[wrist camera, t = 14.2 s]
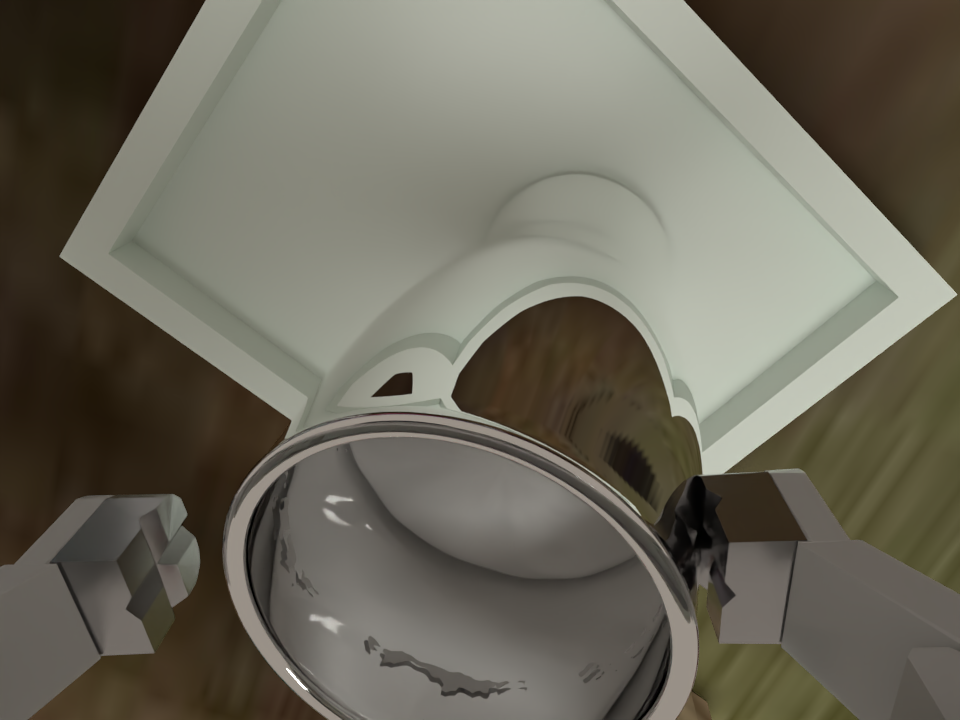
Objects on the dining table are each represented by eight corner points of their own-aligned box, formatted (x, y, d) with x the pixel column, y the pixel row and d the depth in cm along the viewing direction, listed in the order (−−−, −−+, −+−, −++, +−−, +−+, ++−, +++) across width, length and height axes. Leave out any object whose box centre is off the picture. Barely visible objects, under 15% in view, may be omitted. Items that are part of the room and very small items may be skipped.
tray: (102, 235, 24) (58, 256, 22) (405, -273, 17) (387, -318, 15) (550, 560, 29) (552, 604, 27) (915, 268, 23) (957, 294, 20)
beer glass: (537, 113, 20) (301, 285, 7) (734, 235, 20) (855, 620, 7) (438, 295, 24) (157, 633, 11) (606, 397, 24) (534, 854, 11)
